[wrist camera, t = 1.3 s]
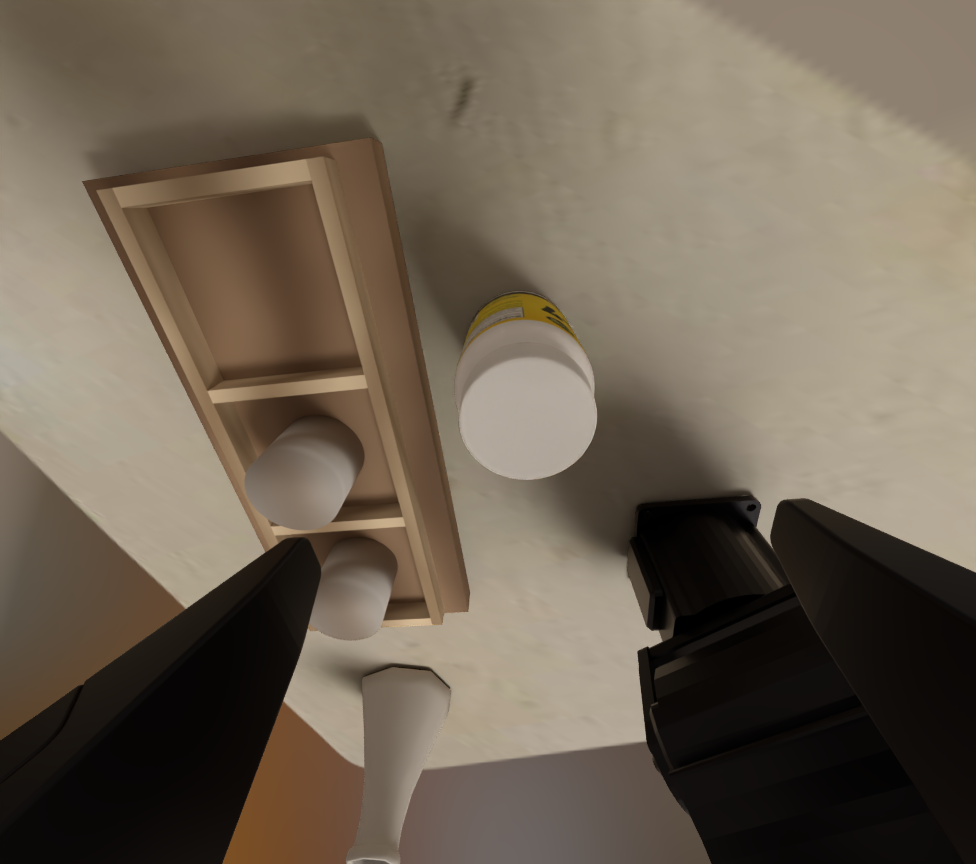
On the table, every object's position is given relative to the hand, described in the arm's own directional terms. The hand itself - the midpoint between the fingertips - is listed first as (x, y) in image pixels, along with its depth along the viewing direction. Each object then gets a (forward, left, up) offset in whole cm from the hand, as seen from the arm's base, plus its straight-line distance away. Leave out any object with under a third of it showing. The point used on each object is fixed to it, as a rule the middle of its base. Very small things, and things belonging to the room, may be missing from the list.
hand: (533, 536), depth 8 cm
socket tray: (+10, +4, -13) cm, 17 cm away
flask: (+11, +27, -13) cm, 32 cm away
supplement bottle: (0, 0, -13) cm, 13 cm away
